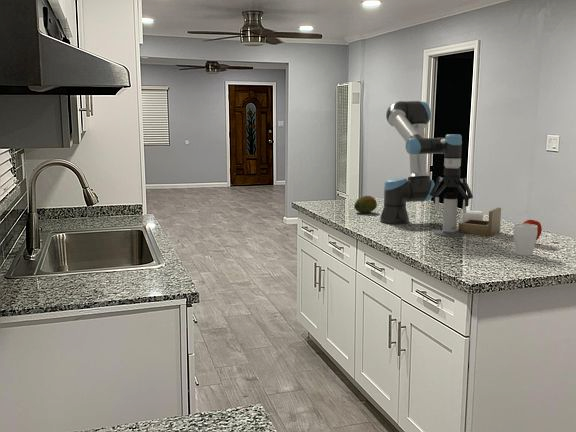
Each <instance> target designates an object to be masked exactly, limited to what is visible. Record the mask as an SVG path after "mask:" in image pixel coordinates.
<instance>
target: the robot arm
mask: <svg viewBox="0 0 576 432" xmlns="http://www.w3.org/2000/svg"><path fill="white" fill-rule="evenodd" d="M385 117H386V121H387V122H388V124H389V125H390V126H391V127H394V128H395V130H396V132H398V133H399V135H400V136H401V138H402V139H403V140H404V141H405V151H406V152H407V154H408V155H409V156H408V157H409V170H410V171H409V172H410V174H409V175H408V176H407V178H406V177H393V178H388V179H386V180H385V181H384V188H383V190H384V191H383V209H382V212H381V215H380V217H379V218H380V219H379V221H380V222H381V223H383V224H389V225H390V224H391V225H401V224H404V225H405V224H408V223H409V222H410V217H409V214H408V211H407V203H415V202H416V203H417V202H421V203H423V202H429V201H430V200H432V198H433V202H432V203H433V204H434V211H435V212H437V211H439V208H440V207H439V206H440V204H439V203H440V197H439V195H440V194H441V193H442V192H443V191H444V190H445V188H456V189H457V190H458V193H460V195H462V197H463V198H464V199H463V202H462V211H463V214H465V213H466V211H467V207H469V205H470V203H469V201H470V199H473V198H474V196H473V193H472V191H471V188H470V186H469V184H468V179H467V178H466V177H465V178H461V171H462V170H461V168H460V167H461V165H462V149H463V147H462V146H463V145H462V144H463V141H462V139H463V137H462V135H461V134H459V133H458V134H454V133H453V134H452V133H450V134H446V135H445V137H426V135H425V128H426V127H428V123H429V122H430V121H431V117H432V114H431V108H430V105H429V104H428V103H427V102H426V101H419V100H416V101H415V100H413V101H412V100H411V101H410V100H409V101H407V100H406V101H404V100H401V101H396V102H393V103H392V104H390V106H389V107H388V108H387V111H386V116H385ZM429 154H431V155H432V154H433V155H434V154H435V155H436V154H441V155H443V154H444V160H443V161H444V162H443V167H444V168H443V177H441V176H437V177H436V182H435V181H434V180H433V179H431V175H429V173H428V171H427V155H429ZM441 182H443V183H442V185H441V186H440V184H441ZM460 183H461V184H462V185H463V187H462V186H461V184H460ZM439 186H440V187H439ZM463 188H464V189H463ZM437 189H438V190H437Z"/></svg>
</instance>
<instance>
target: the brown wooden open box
mask: <svg viewBox="0 0 576 432" xmlns="http://www.w3.org/2000/svg"><path fill="white" fill-rule="evenodd" d="M501 217H502V208H501V207H496V208H494V209H491V210H489V211H488V220H484V219H483V220H474V219H467V220H465V221H463V222H461V221H460V222H459V223H458V231H459V232H460V233H465V235H470V236H478V237H480V236H481V237H489V238H491V237H493V236H495V235H498V234H499V233H500V232H501V220H502V219H501Z"/></svg>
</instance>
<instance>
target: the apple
mask: <svg viewBox="0 0 576 432" xmlns="http://www.w3.org/2000/svg"><path fill="white" fill-rule="evenodd" d="M522 224H533V225H537V238H536V241H537V240H538V239H539V238H540V236H541V235H542V232H543V231H542V230H543V228H542V224H541V222H539V221H538V220H535V219H527V220H525V221H523V223H522Z"/></svg>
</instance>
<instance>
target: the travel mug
mask: <svg viewBox="0 0 576 432" xmlns="http://www.w3.org/2000/svg"><path fill="white" fill-rule="evenodd" d="M458 194H459V191H448V192H445V193H444V194H443V208H442V209H443V211H442V212H443V213H442V230H443V233H445V234H455V233H456V231H457V220H458V219H457V216H458Z"/></svg>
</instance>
